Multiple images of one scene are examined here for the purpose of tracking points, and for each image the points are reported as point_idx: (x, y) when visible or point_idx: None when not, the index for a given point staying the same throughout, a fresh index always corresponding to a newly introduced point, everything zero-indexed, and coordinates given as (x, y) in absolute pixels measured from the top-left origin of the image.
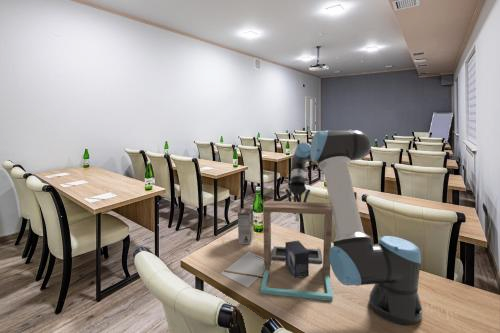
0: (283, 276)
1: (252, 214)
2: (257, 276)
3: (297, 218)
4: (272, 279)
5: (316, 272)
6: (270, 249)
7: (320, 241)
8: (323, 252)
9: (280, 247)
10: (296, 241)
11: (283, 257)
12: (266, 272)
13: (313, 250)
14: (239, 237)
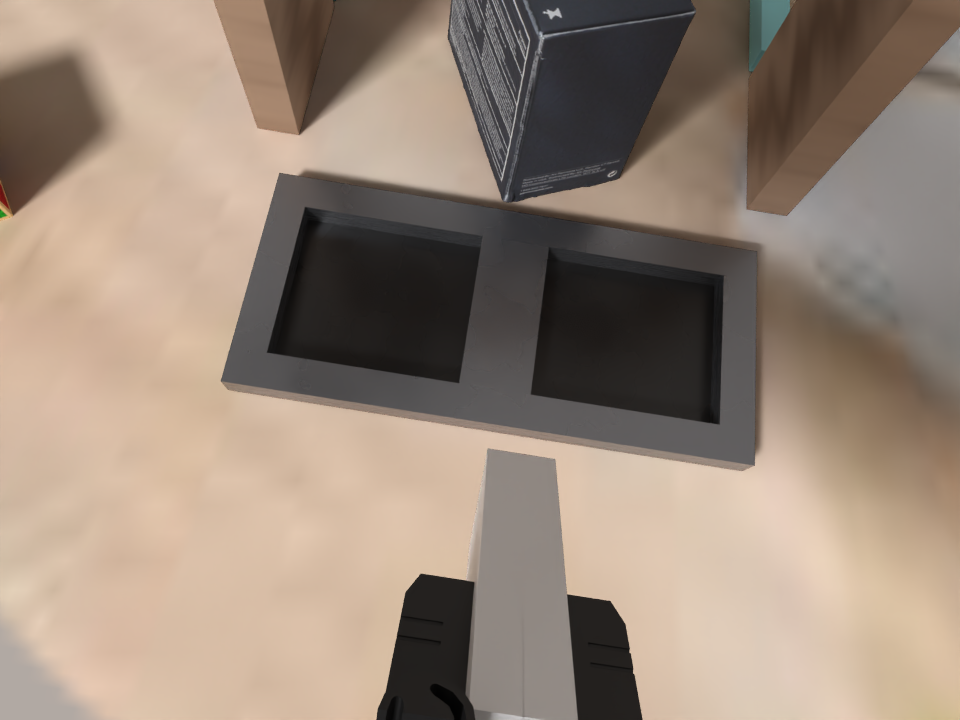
0: None
1: None
2: None
3: (513, 460)
4: (715, 10)
5: (377, 67)
6: (821, 81)
7: (128, 678)
8: (273, 15)
9: (677, 436)
10: (566, 9)
11: (644, 233)
12: (774, 23)
13: (311, 361)
14: None
